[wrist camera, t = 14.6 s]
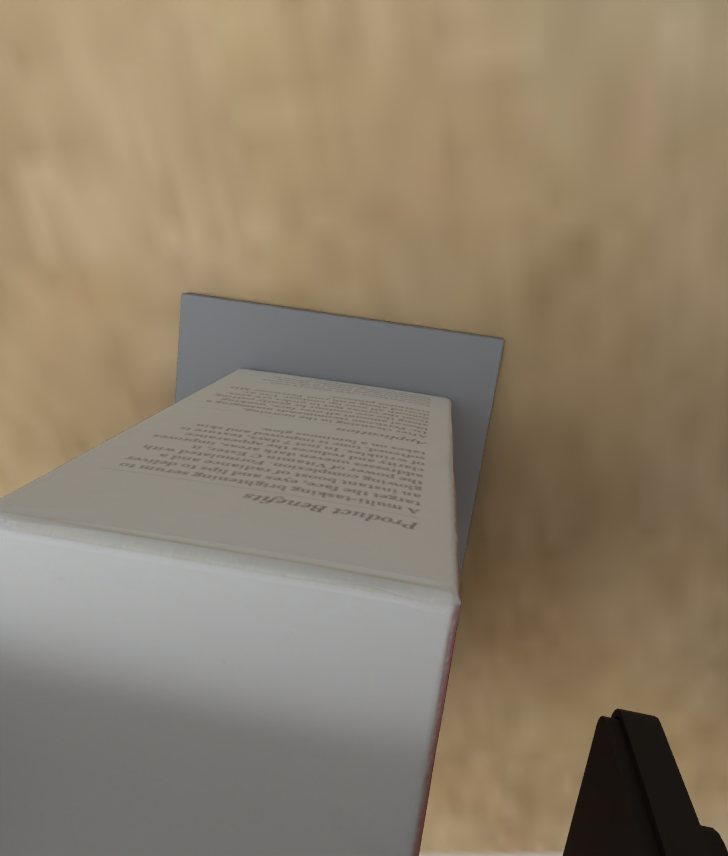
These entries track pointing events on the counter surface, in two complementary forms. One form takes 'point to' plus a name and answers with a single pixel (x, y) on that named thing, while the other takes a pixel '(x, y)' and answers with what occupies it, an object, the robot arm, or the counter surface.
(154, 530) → the small box
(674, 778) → the robot arm
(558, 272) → the counter surface
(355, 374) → the mat
